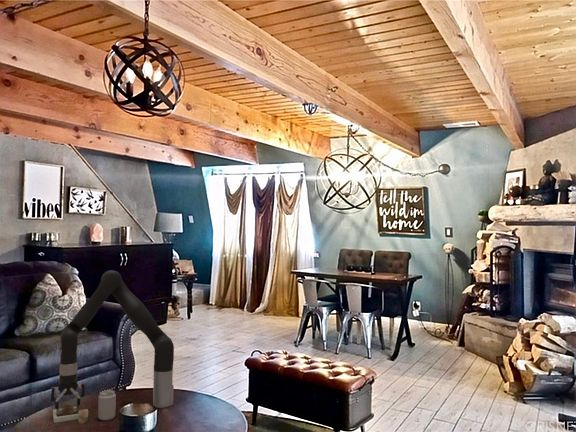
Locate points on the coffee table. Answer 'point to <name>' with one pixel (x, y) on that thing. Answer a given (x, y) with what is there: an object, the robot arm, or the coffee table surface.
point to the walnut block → (67, 410)
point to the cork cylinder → (83, 416)
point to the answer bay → (64, 418)
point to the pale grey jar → (106, 405)
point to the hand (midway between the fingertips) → (67, 407)
